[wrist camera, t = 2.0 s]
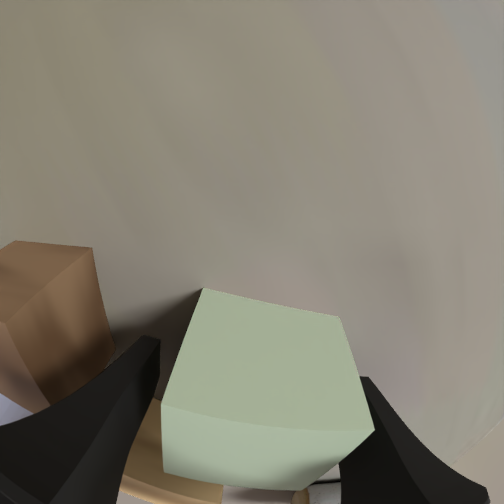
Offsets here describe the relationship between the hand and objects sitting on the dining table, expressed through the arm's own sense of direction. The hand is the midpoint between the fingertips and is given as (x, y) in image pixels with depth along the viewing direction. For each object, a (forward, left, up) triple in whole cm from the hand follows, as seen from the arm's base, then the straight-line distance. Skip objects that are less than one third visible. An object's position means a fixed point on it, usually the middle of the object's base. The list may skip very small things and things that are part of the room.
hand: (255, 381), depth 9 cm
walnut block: (0, +9, -2) cm, 9 cm away
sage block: (0, 0, -2) cm, 2 cm away
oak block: (-8, +3, -2) cm, 9 cm away
